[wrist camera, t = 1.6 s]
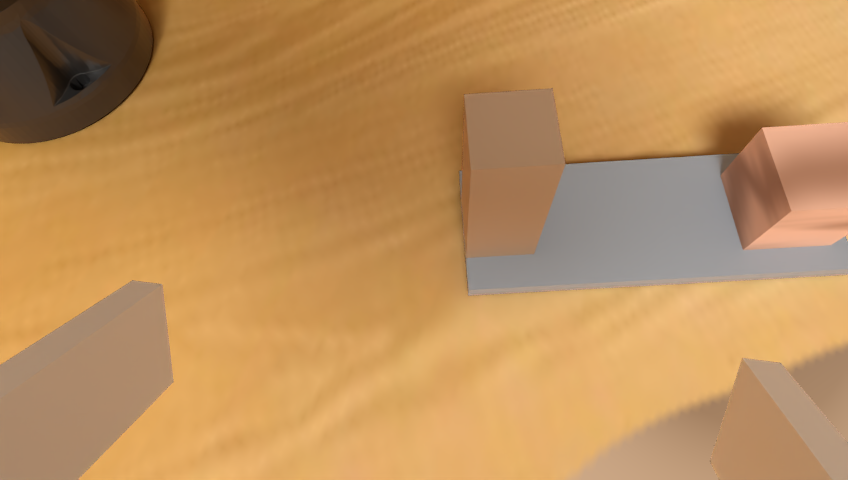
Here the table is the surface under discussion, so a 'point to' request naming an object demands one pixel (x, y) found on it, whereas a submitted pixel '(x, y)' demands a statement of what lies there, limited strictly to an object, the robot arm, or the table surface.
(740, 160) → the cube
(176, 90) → the table surface
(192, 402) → the table surface
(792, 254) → the strip
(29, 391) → the robot arm
